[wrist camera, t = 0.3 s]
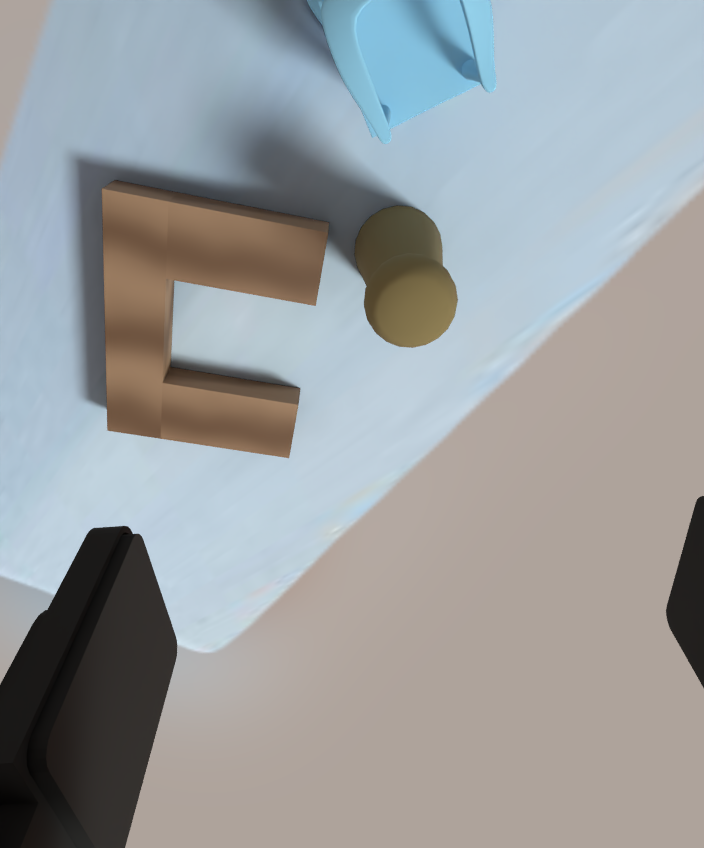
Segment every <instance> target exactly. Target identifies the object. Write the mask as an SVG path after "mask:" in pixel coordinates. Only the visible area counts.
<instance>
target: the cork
mask: <svg viewBox="0 0 704 848" xmlns="http://www.w3.org/2000/svg"><path fill="white" fill-rule="evenodd" d="M354 254H355V259H356V263H357V267H358V269H359V271H360V273H361V275H362V277H363V280H364V282H365V284H366V286H367V287H366V289H365V299H364V308H365V312H366V316H367V320H368V322H369V323H370V325H371V326H372V328H373V329H374V331H375V332H376V333H377V334H378V335H379V336H380V337H381V338H383V339H384V340H385V341H386V342H389V343H391V344H394V345H396V346H399V347H412V348H413V347H418V346H422V345H426V344H428V343H430V342H432V341H434V340H436V339H438V338H439V337H440V336H441V335H442V334H443V333H444V332H445V331H446V330H447V329H448V327H449V326H450V324H451V322H452V320H453V318H454V316H455V311H456V306H457V301H458V299H457V292H456V286H455V284H454V282H453V280H452V278H451V276H450V274H449V272H448V270H447V269H445V268H444V267H443V262H442V243H441V236H440V233H439V231H438V229H437V227H436V225H435V223H434V222H433V221H432V220H431V219H430V218H429V217H428V216H427V215H426V214H425V213H424V212H422V211H419V210H417V209H415V208H413V207H407V206H393V207H389V208H385V209H382V210H380V211H379V212H377V213H375V214H374V215H372V216H371V217H370V218H369V219H368V220H367V221H366V222H365V224H364V225H363V226H362V227H361V229H360V231H359V234H358V236H357V238H356V242H355V253H354Z"/></svg>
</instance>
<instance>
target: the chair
mask: <svg viewBox="0 0 704 848" xmlns="http://www.w3.org/2000/svg"><path fill="white" fill-rule="evenodd" d="M307 2H308V4H309V7H310V8H311V10H312V11H313V13H314V14H315V16H316V17H317V19H318V20H319V22H320V23H321V24H322V25H323V29H324V33H325V36H326V39H327V43H328V46H329V48H330V51H331V54H332V57H333V59H334V62H335V64H336V67H337V69H338V71H339V73H340V75H341V78H342V80H343V82H344V83H345V85H346V87H347V89H348V90H349V92H350V94H351V95H352V97H353V98H354V100H355V102H356V103H357V105H358V106H359V108H360V109H361V111H362V113H363V116H364V118H365V121H366V123H367V126H368V128H369V131H370V133H371V136H372V138H373V137H375V136H378V138H379V139H380V141H381V142H382V143H384V144H387V143H389V142H390V140H391V131H390V129H391V128H393V127H395V126H397V125H399V124H401V123H403V122H405V121H407V120H409V119H411V118H413V117H415V116H417V115H419V114H421V113H423V112H425V111H427V110H429V109H431V108H433V107H435V106H437V105H439V104H441V103H443V102H445V101H447V100H449V99H451V98H453V97H455V96H457V95H459V94H461V93H464V92H466V91H468V90H470V89H472V88H474V87H476V86H478V85H480V84H481V85H482V86H483V88H484V89H485V90H486V91H487V92H489V93H490V92H493V91H494V90H495V88H496V75H495V65H494V31H493V15H492V7H491V1H490V0H307Z"/></svg>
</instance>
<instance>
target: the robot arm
mask: <svg viewBox="0 0 704 848" xmlns="http://www.w3.org/2000/svg"><path fill="white" fill-rule="evenodd" d="M666 615H667V621H668V624H669V627H670V629H671V631H672V633H673V634H674V636H675V638H676V640H677V642H678V643H679V645H680V647H681V649H682V650H683V652H684V654H685V656H686V657H687V659H688V661H689V663H690V664H691V666H692V668H693V670H694V671H695V673H696V675H697V677H698V679H699V680H700V682H701V684H702V686H703V687H704V496H702V497H699V498H698V499H697V502H696V504H695V508H694V511H693V515H692V518H691V522H690V525H689V529H688V533H687V537H686V540H685V543H684V547H683V550H682V554H681V558H680V561H679V565H678V568H677V572H676V575H675V579H674V583H673V586H672V590H671V594H670V597H669V600H668V604H667V609H666ZM176 656H177V640H176V636H175V633H174V630H173V627H172V624H171V621H170V618H169V615H168V612H167V609H166V606H165V603H164V600H163V597H162V594H161V591H160V588H159V585H158V582H157V579H156V576H155V573H154V570H153V567H152V564H151V561H150V559H149V556H148V553H147V550H146V547H145V544H144V541H143V538H142V536H141V535H140V534H133V533H132V531H131V529H130V528H129V527H127V526H118V527H103V528H93V529H91V530H90V531H89V533H88V534H87V536H86V537H85V539H84V541H83V543H82V545H81V547H80V549H79V551H78V553H77V555H76V557H75V558H74V560H73V562H72V564H71V566H70V568H69V570H68V572H67V574H66V576H65V578H64V579H63V581H62V583H61V585H60V587H59V589H58V591H57V593H56V595H55V597H54V599H53V600H52V603H51V604H50V606H49V608H48V610H45V611H44V612H43V613H41V614H40V615H39V616H38V617H37V619H36V620H35V622H34V623H33V625H32V626H31V628H30V630H29V632H28V634H27V636H26V638H25V640H24V641H23V644H22V645H21V647H20V649H19V651H18V653H17V654H16V656H15V658H14V660H13V662H12V664H11V666H10V667H9V669H8V671H7V673H6V675H5V677H4V679H3V681H2V682H1V685H0V848H125V845H126V842H127V838H128V834H129V831H130V827H131V823H132V820H133V815H134V812H135V809H136V805H137V801H138V798H139V793H140V790H141V786H142V783H143V779H144V775H145V772H146V768H147V764H148V761H149V757H150V753H151V750H152V746H153V742H154V739H155V734H156V731H157V728H158V724H159V720H160V716H161V713H162V709H163V705H164V702H165V698H166V694H167V691H168V687H169V683H170V679H171V676H172V672H173V668H174V665H175V661H176Z"/></svg>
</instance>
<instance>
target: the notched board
mask: <svg viewBox="0 0 704 848" xmlns="http://www.w3.org/2000/svg"><path fill="white" fill-rule="evenodd" d="M102 217H103V259H104V302H105V344H106V387H107V429H108V431H114V432H121V433H127V434H134V435H140V436H147V437H154V438H160V439H167V440H173V441H180V442H187V443H193V444H200V445H206V446H213V447H220V448H226V449H233V450H239V451H246V452H253V453H259V454H266V455H272V456H279V457H286V458H289V455H290V450H291V444H292V438H293V432H294V427H295V421H296V415H297V409H298V403H299V395H300V388H295V387H289V386H283V385H277V384H271V383H265V382H259V381H252V380H246V379H240V378H234V377H228V376H222V375H216V374H210V373H204V372H198V371H192V370H186V369H180V368H174V367H171V346H172V322H173V297H174V280H176V281H181V282H187V283H192V284H198V285H203V286H209V287H214V288H220V289H226V290H231V291H237V292H242V293H248V294H253V295H259V296H264V297H270V298H275V299H281V300H286V301H292V302H297V303H303V304H308V305H314V306H316V301H317V295H318V289H319V283H320V278H321V272H322V266H323V260H324V255H325V249H326V243H327V238H328V231H329V222H325V221H320V220H315V219H310V218H305V217H300V216H295V215H290V214H285V213H279V212H274V211H269V210H264V209H259V208H254V207H249V206H244V205H239V204H234V203H229V202H224V201H219V200H214V199H208V198H203V197H198V196H193V195H188V194H183V193H178V192H173V191H168V190H163V189H158V188H153V187H148V186H143V185H137V184H132V183H127V182H122V181H117V180H114V181H113V182H111V183H110V184H108V185H107V186H105V187H103V188H102Z"/></svg>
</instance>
